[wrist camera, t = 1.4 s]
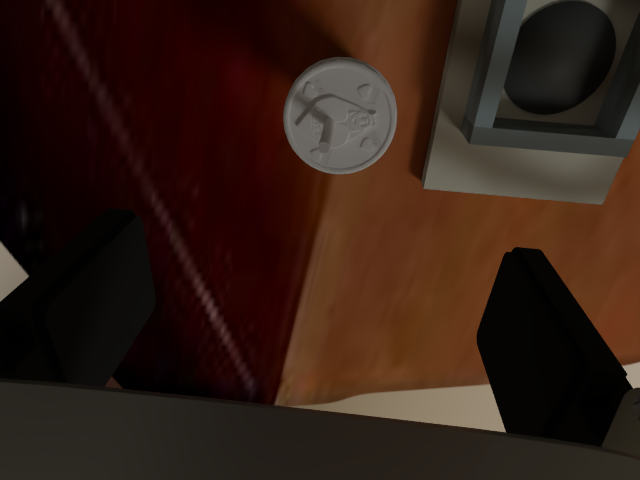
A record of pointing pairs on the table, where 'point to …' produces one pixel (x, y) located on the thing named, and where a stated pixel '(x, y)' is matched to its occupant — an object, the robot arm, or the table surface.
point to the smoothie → (340, 115)
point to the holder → (537, 99)
